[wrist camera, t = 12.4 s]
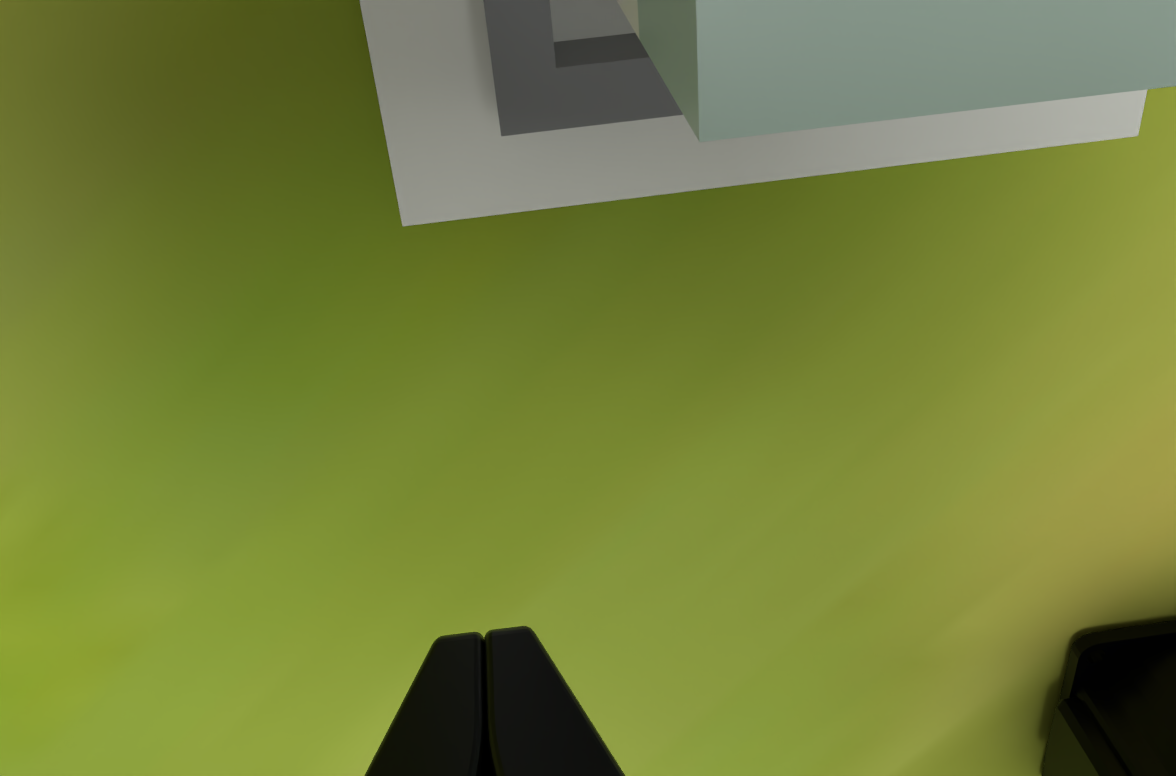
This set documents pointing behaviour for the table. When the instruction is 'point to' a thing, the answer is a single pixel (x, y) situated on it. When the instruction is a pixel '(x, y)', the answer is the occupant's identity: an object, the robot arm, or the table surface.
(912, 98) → the grey green box
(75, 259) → the table surface
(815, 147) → the socket plate
